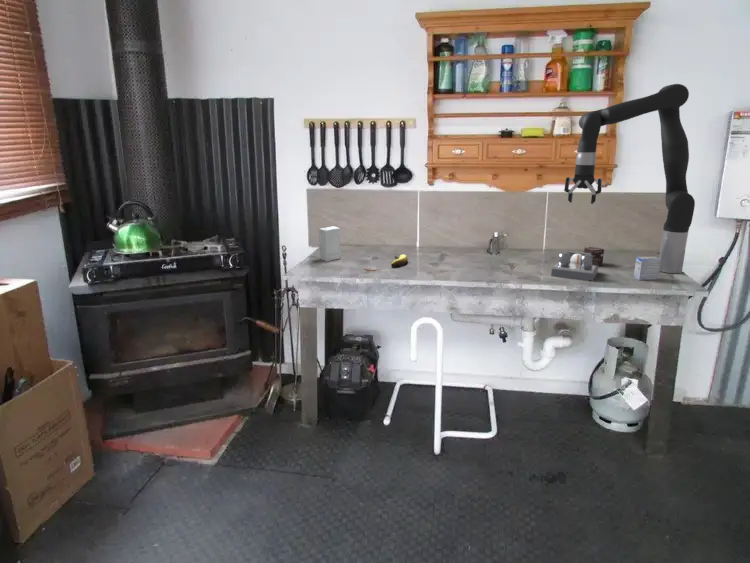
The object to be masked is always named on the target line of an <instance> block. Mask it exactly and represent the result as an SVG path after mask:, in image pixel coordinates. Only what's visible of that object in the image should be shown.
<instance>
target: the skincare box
mask: <svg viewBox="0 0 750 563" xmlns="http://www.w3.org/2000/svg"><path fill="white" fill-rule="evenodd" d="M318 236H319V240H318V241H319V254H320V255H319V257H320V258H319V259H320V260H322V261H324V262H331V261H335V260H340V259H341V258H342V257H341V256H342V254H341V252H342V251H341V250H342V249H341V228H340V227H337V226H335V225H332V226H327V227H320V228H318Z"/></svg>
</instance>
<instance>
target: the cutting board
mask: <svg viewBox="0 0 750 563" xmlns="http://www.w3.org/2000/svg"><path fill="white" fill-rule="evenodd" d="M394 258H395V259H394V260H393V261H392V262H391V264H390V265H391V266H390V267H391V268H392V267H393V268H400V267H402V266H405V264H406V263H407V262H408V260H409V258H408V255H406V254H400V255H399V256H394ZM423 259H424V260H425V261H426V262H427V259H426V258H425V257H423ZM363 270H365V271H368V272H369V271H371V272H377V271H381V269H380V268H379V269H372V267H371V268H363ZM391 272H394V270H392V271H391Z"/></svg>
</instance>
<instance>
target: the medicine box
mask: <svg viewBox="0 0 750 563" xmlns="http://www.w3.org/2000/svg"><path fill="white" fill-rule="evenodd" d="M660 264H661V259H659V257H657V256H637V257H636V258H635V265H634V273H633V278H635V279H636V280H638V281H650V280H651V281H656V280H657V281H659V274H660V271H659V270H660Z"/></svg>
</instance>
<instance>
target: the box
mask: <svg viewBox="0 0 750 563" xmlns="http://www.w3.org/2000/svg"><path fill="white" fill-rule="evenodd" d="M583 250H584V251H583V253H591V255H592V256H593V258H592V265H595V266H598V267H599V266H603V263H604V254H605V248H601V247H597V246H585V247H584V248H583Z"/></svg>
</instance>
